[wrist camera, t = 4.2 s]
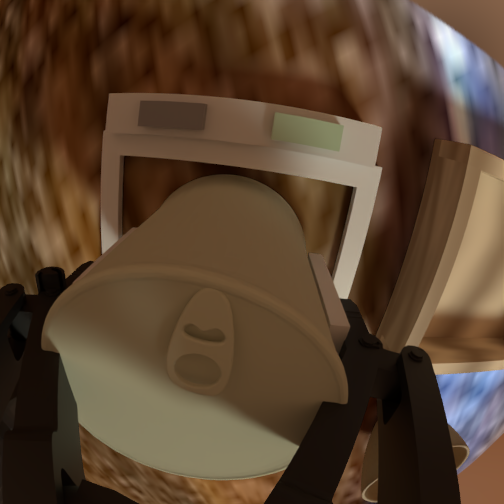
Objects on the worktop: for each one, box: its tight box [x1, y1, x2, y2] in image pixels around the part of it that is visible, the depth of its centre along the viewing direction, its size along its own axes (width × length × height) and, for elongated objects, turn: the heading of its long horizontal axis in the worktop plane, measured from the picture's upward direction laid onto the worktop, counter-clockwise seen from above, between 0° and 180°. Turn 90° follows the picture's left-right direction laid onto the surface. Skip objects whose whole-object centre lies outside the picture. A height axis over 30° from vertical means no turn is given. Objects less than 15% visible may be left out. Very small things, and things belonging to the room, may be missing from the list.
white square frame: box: [101, 93, 382, 299], centre depth 16 cm, size 15×15×3 cm
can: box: [41, 174, 348, 480], centre depth 13 cm, size 9×9×12 cm
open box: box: [376, 139, 504, 375], centre depth 16 cm, size 14×14×4 cm
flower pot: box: [361, 421, 469, 502], centre depth 21 cm, size 10×10×7 cm
